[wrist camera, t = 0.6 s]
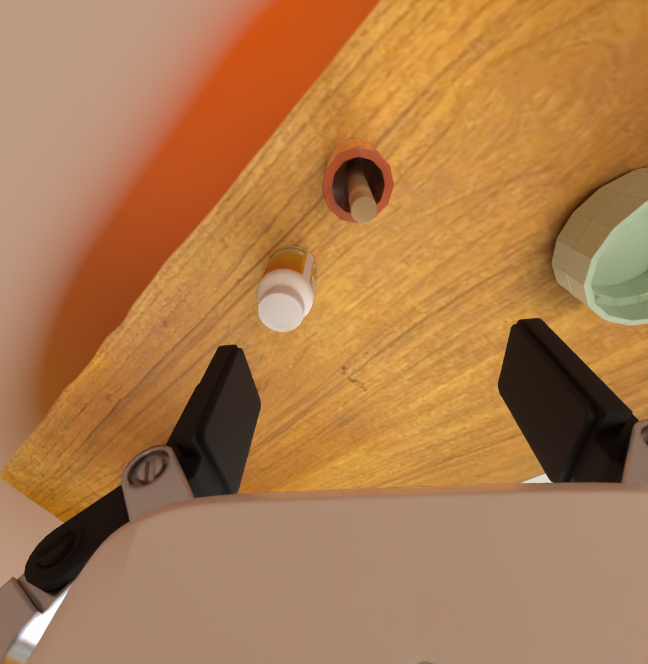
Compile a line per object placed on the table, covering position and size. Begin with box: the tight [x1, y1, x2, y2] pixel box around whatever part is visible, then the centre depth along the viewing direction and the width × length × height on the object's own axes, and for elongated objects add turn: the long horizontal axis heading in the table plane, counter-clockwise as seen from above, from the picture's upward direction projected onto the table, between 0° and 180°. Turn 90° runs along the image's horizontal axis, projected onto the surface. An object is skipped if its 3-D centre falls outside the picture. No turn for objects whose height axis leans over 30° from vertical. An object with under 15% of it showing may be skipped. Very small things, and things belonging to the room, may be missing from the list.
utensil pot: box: [323, 138, 394, 223], centre depth 26 cm, size 5×5×9 cm
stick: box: [346, 161, 377, 224], centre depth 23 cm, size 1×1×15 cm
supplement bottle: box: [257, 246, 317, 332], centre depth 31 cm, size 5×5×10 cm
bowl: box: [552, 167, 648, 326], centre depth 30 cm, size 13×13×6 cm
